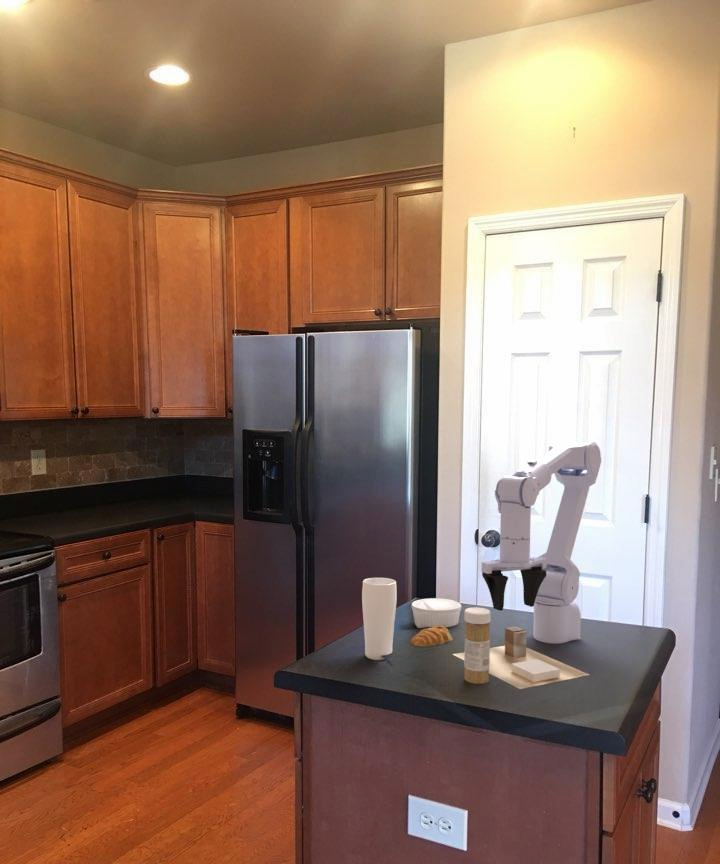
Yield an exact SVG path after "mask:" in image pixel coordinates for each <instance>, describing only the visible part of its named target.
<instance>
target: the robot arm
mask: <svg viewBox="0 0 720 864" xmlns="http://www.w3.org/2000/svg"><path fill="white" fill-rule="evenodd" d="M601 463H602V453H601V450H600V447H599V444H597V443H596V442H594V441H591V442H584V441H583V442H581V441H580V442H578V441H577V442H576V441H574V442H573V441H561V440H555V441H554V442H553V443H551V444H550V445H549V447H548V453H547V454H545V456H543V458H542V459H540V460H536V459H529V460H528V461H527V464H525V465H524V466H523V467H522V468H520V469H518V470H516V471H515V473H514V474H512V475H504V476H503V477H502V478H499V480H498V481H497V483H496V485H495V490H494V498H495V500H496V502H497V511H498V513H499V514H500V527H499V529H500V530H499V531H500V532H499V533H500V536H499V558H496V559H493V560H487V561H481V570H480V571H481V576H482V579H483V580H484V582H485V583H486V585H487V588H488V591H489V594H490V598H491V603H492V606H493V609H494V610H496V611H499V612H500V611H503V610H504V604H505V592H506V586H507V583H508V580H509V577H508V576H507V575H505V574H503V573H502V572H510V571H511V572H512V571H520V574H521V575H520V576H521V578H522V585H523V586H522V587H523V590H522V591H523V592H522V593H523V604H524V605H525V606H526V607H527V606H528V607H531V608H532V607H533V633H532V634H533V635H532V636H533V639H534V640H536V641H539V642H542V643H546V644H564V643H568V642H570V641H576V640H581V634H582V633H581V629H582V628H581V626H582V625H581V621H582V619H581V617H582V615H581V609H580V607H579V605H578V604H577V602H575V600H576V599H577V596H578V594H579V588H580V584H579V583H580V575H581V572H580V569H579V568H578V566H577V565H576V564H575V563H574V562H573V561H572V559H571V558H572V555H573V551H574V546H575V543H576V539H577V535H578V531H579V528H580V524H581V520H582V517H583V513H584V510H585V506H586V502H587V498H588V494H589V492H590V491H589V490H590V487H591V486H593V485H594V484H596V483H597V478H598V475H599V472H600V468H601ZM553 474H554V476H555V479H556V480H557V482H558V483H560V484H562V485H563V486H564V488H563V491H562V496H561V500H560V502H559V506H558V510H557V513H556V517H555V519H554V520H555V521H554V524H553V527H552V531H551V535H550V539H549V541H548V546H547V549H546V552H545V553H543V554H540V555H539V556H537V557H534V556H533V557H530V556H531V519H532V518H531V515H532V514H531V513H532V511H531V507H533V506H535V503H536V500H537V498H538V496H539V495H540V492H541V490H543V489H544V488H545V487H546V486H548V485H549V484H550V482H551V481H552V475H553Z"/></svg>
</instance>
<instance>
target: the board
mask: <svg viewBox="0 0 720 864" xmlns="http://www.w3.org/2000/svg"><path fill="white" fill-rule="evenodd" d="M452 655H453V656H455V657H456V658H458V659H460V660H462V661H464V652H458V653H452ZM534 659H538V660H541V661H543V662H545V663H547V664H550V665H552V666H554V667H556V668H559V669H560V677H558V678H554V679H549V680H544V681H539V682H532V681H530V680H527V679H525V678H523V677H521V676H519V675H517V674H515V673H513V672H512V671H511V664H512V663H518V662H523V661H529V660H534ZM489 675H492V676H493V677H495V678H497V679H499V680H501V681H503V682H504V683H506V684H509V685H510V686H512V687H514V688H516V689H518V690H525V689H529V688H533V687H538V686H543V685H549V684H553V683H557V682H562V681H566V680H567V681H568V680H572V679H577V678H578V679H579V678H582V677H587V676H590V674H589V673H587V672H584V671H581V670H580V669H577V668H575V667H572V666H571V665H568V664H566V663H564V662H561V661H558V659H557V660H556V659H555V658H553V657H552V658H551V657H549V656H547V655H545V654H542V653H540V652H538V651H535V650H533V649H531V648H529V647H526V656H525V657H520V658H514V657H512V656H510V655H507V654H505V645H500V646H495V647H490V668H489Z"/></svg>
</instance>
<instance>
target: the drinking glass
mask: <svg viewBox="0 0 720 864" xmlns="http://www.w3.org/2000/svg"><path fill="white" fill-rule="evenodd" d="M361 589H362V590H361V602H362V604H361V605H362V606H361V607H362V619H363V631H364V633H363V634H364V648H365V649H364V654H365V657H366V658H368V659H369V660H373V661H386V660H387V659H386V657H384V656H388V655H390V654H392V653H393V640H394V634H395V633H394V631H395V623H396V622H395V620H396V609H397V596H398V595H397V594H398V593H397V590H398V589H397V581H396V580H395V579H393V578H390V577H389V578H388V577H369V578H364V579H363V581H362V588H361Z"/></svg>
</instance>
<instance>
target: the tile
mask: <svg viewBox="0 0 720 864" xmlns="http://www.w3.org/2000/svg"><path fill="white" fill-rule="evenodd" d="M511 671H512V672H513V673H515V674H517V675H519V676H521V677H523V678H525V679H527V680H530V681H532V682H539V681H544V680H549V679H554V678H558V677H560V669H559V668H556V667H554V666H552V665H550V664H547V663H545V662H543V661H541V660H538V659H534V660H529V661H523V662H518V663H512V664H511Z"/></svg>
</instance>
